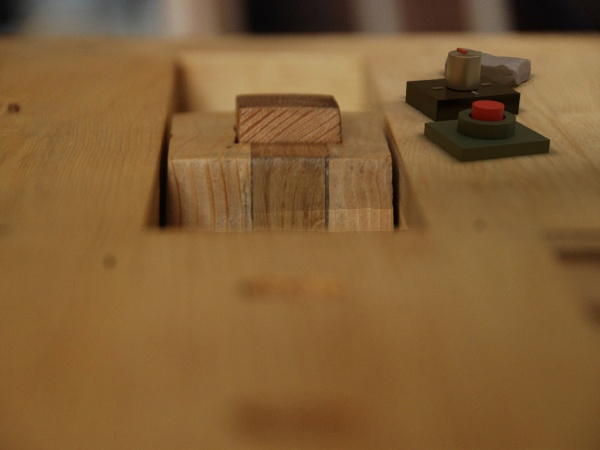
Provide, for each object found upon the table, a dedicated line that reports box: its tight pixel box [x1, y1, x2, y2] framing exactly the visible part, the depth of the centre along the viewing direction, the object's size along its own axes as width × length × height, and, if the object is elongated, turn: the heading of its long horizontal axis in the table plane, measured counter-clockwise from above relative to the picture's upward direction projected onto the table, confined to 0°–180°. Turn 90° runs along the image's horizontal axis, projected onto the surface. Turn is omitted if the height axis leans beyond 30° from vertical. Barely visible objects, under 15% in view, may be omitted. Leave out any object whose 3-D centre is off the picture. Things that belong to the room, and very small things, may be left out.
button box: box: [423, 109, 551, 163], centre depth 95 cm, size 11×10×4 cm
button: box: [471, 100, 504, 122], centre depth 94 cm, size 4×4×2 cm
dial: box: [445, 47, 482, 91], centre depth 109 cm, size 4×4×5 cm
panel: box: [405, 75, 521, 122], centre depth 111 cm, size 12×10×3 cm
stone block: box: [444, 47, 532, 89], centre depth 126 cm, size 12×5×10 cm
